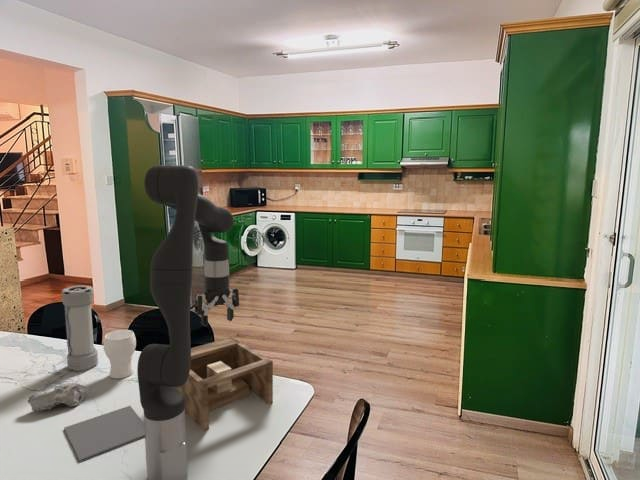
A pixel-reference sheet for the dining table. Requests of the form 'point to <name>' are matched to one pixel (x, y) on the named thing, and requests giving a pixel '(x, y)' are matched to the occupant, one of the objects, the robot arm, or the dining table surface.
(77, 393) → the rock
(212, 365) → the block
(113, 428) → the mat
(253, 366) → the access box
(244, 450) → the dining table surface
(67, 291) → the canister
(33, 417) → the dining table surface
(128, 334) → the cup
